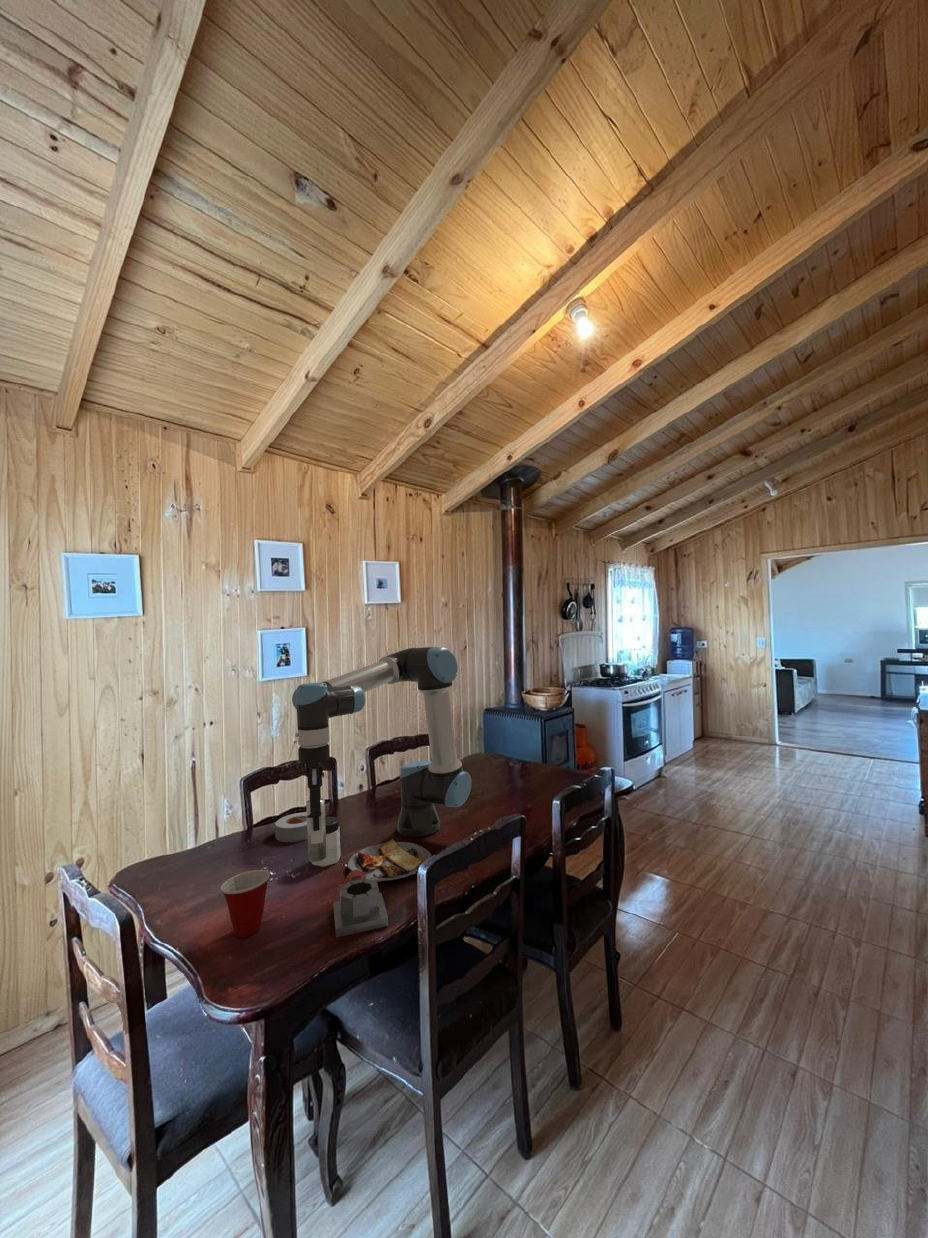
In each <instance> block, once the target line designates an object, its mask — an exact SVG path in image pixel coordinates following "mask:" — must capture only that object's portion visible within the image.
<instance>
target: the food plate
mask: <svg viewBox="0 0 928 1238" xmlns="http://www.w3.org/2000/svg"><path fill="white" fill-rule="evenodd" d="M430 856H431V857H432V853H431V852H430V851H429V850H428V849H426V848H425V847H423V846H421V845H419V844H417V843H413V842H409V841H407V842H406V841H395V839H394V838H391V839H389V841H386V842H382V843H377V844H373V845H369V846H367V847H364V848H361V849H360V850H358V851H357V852H355V853H354V854H352V855H351V856H350V857H349V859H348V861H347V864H346V866H347V868H348V869H349V870H350V872H351V871H353V870H361V871H363V872H364V874H365V877H366V879H369V880H373V881H377V883H381V882H383V881H384V882H385V881H387V882H388V881H395V880H398V879H403V878H404V879H405V878H406V877H408V876H411V875H412V876H413V875H415V874H417V873H416V871H417V867H418V866H419V865H420V864H421V863H422V862H423V861H424V860H426V859H427V858H429V857H430ZM402 872H405V873H404V874H401V873H402ZM382 876H384V877H382ZM385 876H387V877H386V878H385Z"/></svg>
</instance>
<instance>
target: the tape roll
mask: <svg viewBox="0 0 928 1238" xmlns="http://www.w3.org/2000/svg"><path fill="white" fill-rule="evenodd" d="M274 833H275V834H274V835H275V836H274V837H275V839H276V840H277V841H278V842H282V843H296V842H300V841H301V842H302V841H305V840H306V841H307V840H308V837H307V811H304V812H297V813H291V814H288V815H285V816H282V817H280V818H279V819H278V820H276V822H275V823H274Z"/></svg>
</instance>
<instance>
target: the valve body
mask: <svg viewBox="0 0 928 1238" xmlns="http://www.w3.org/2000/svg"><path fill="white" fill-rule="evenodd" d="M345 879H346V880H345V883H346V884H344V885H342V886H341V887H340V888H339V900H338V901H333V903H332V904H333V918H334V919H333V920H334V929H335V938H340V937H344V936H349V935H353V934H359V933H363V932H367V931H372V930H377V929H381V928H385V927H389V916H388V913H387V911H388V910H387V908H386V905H385V901H384V898H383V894H382V892H380V889H379V885H378V882H377V881H373V880H369V879H366V877H365V874H364V872H363V871H361V870H353V871H351V870H350V872H349V873H348V875H347V876H346V878H345Z"/></svg>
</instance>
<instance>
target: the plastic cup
mask: <svg viewBox="0 0 928 1238" xmlns="http://www.w3.org/2000/svg"><path fill="white" fill-rule="evenodd" d="M270 875H271V874H270V871H267V870H265V869H256V870H255V869H254V870H249V871H245V872H242V873H238V874H237V875H235V876H232V877H230V878H229V879H227V880H226V881H224V882H223V884H221V886H220V892H222V893H223V895H224V898H225V901H226V903H227V908H228V914H229V917H230V922H231V925H232V929H233V933H234V935H235V936H236V937H237V938H248V937H250V936H253V935H255V934H256V933H258V932H259V931H260V929H261V927H262V922H263V917H264V910H265V905H266V904H265V901H266V895H267V894H266V893H267V890H268V889H267V887H268V883H269V878H270V877H271V876H270Z"/></svg>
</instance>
